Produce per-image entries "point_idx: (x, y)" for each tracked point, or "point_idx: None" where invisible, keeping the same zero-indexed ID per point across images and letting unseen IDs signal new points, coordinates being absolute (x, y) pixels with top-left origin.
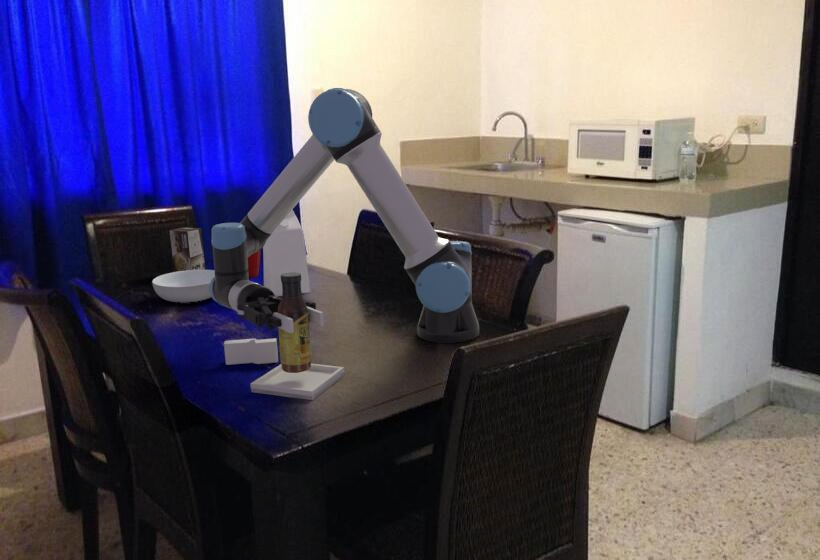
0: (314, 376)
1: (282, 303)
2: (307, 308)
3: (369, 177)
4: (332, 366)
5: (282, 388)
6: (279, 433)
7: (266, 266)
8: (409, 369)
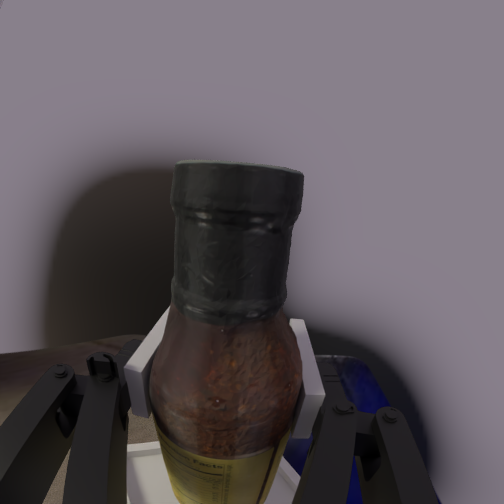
0: (172, 490)
1: (292, 330)
2: (154, 351)
3: None
4: None
5: (292, 468)
6: (346, 384)
7: None
8: None
